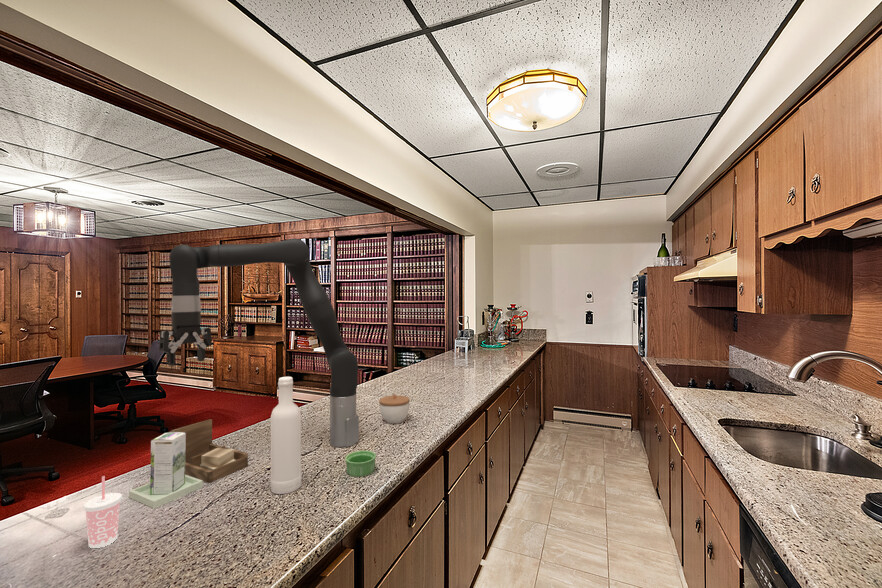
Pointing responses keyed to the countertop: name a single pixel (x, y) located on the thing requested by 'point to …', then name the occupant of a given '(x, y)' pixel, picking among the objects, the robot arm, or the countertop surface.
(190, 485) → the tray
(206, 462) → the offcut top
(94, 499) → the beverage cup
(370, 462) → the ramekin
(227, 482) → the countertop surface
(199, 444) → the open box
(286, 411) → the bottle
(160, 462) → the syrup box
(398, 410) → the white lidded bowl
